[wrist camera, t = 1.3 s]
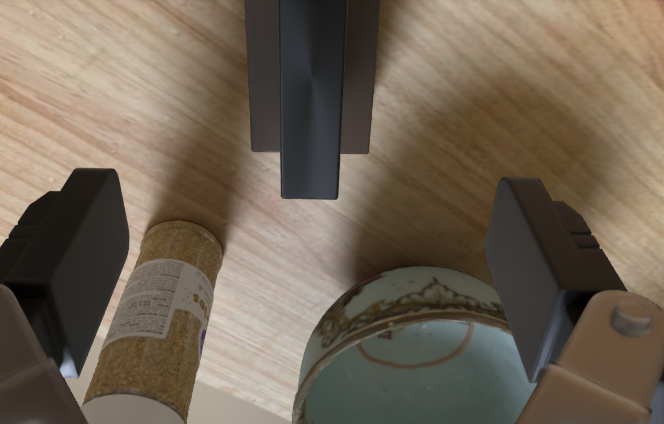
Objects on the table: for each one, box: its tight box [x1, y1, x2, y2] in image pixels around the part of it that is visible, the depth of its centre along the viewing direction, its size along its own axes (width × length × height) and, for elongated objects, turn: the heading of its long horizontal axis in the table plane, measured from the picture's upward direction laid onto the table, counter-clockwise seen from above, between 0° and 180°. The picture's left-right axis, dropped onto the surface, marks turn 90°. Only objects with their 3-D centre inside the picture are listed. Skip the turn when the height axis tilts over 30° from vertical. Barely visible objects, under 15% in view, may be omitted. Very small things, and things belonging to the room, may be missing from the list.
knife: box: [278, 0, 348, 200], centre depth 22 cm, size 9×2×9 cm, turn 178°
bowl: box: [292, 266, 538, 424], centre depth 33 cm, size 14×13×8 cm
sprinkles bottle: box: [80, 220, 223, 424], centre depth 28 cm, size 5×5×13 cm
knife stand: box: [244, 0, 381, 154], centre depth 24 cm, size 11×5×4 cm, turn 178°
